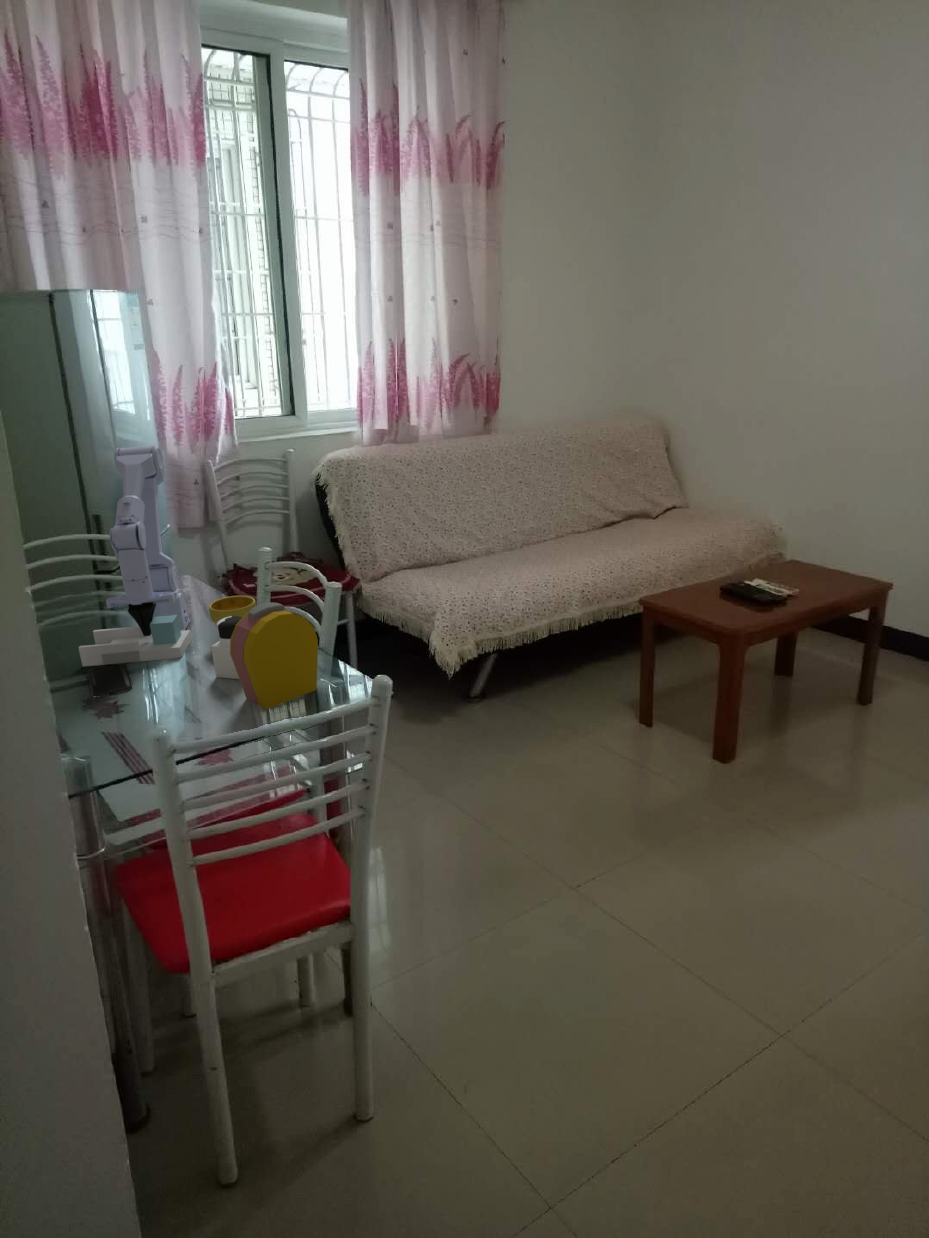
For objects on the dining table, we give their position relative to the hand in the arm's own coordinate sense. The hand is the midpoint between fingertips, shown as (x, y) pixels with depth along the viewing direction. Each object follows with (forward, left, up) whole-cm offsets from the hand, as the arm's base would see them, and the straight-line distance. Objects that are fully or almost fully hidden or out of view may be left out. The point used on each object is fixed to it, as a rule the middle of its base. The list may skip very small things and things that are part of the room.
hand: (147, 634), depth 191 cm
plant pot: (-20, -1, -4) cm, 20 cm away
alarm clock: (-33, +30, -4) cm, 45 cm away
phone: (+5, +16, -5) cm, 17 cm away
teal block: (-4, 0, -2) cm, 5 cm away
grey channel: (+3, 0, -4) cm, 5 cm away
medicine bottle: (-23, +17, -4) cm, 29 cm away
